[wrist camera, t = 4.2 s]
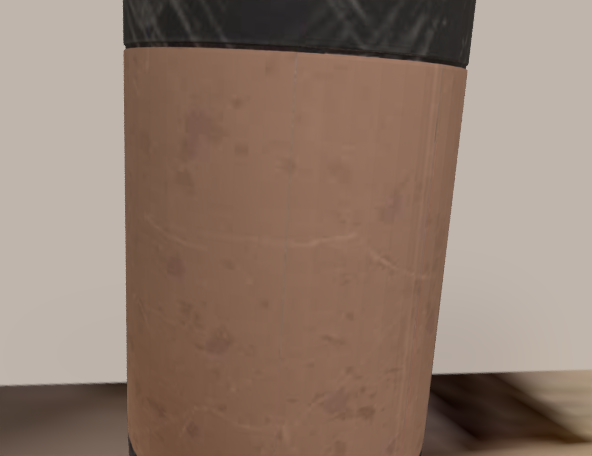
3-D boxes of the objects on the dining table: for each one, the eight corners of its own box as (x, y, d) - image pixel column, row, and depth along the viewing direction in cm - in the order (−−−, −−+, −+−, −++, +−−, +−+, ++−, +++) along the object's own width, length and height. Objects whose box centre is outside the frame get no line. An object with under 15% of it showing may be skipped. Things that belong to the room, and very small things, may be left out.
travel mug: (346, 895, 12) (469, -145, 7) (73, 731, 15) (23, -104, 10) (412, 605, 19) (498, -24, 14) (217, 530, 22) (231, -20, 17)
